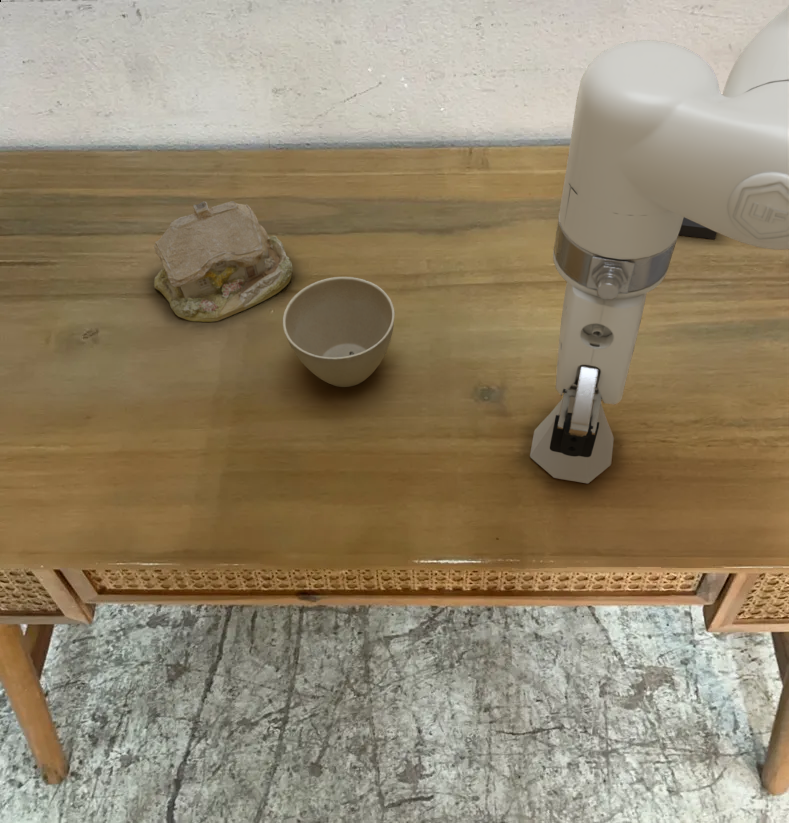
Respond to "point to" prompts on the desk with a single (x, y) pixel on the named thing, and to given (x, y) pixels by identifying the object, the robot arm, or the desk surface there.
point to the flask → (570, 465)
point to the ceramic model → (219, 263)
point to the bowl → (340, 328)
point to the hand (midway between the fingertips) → (577, 403)
